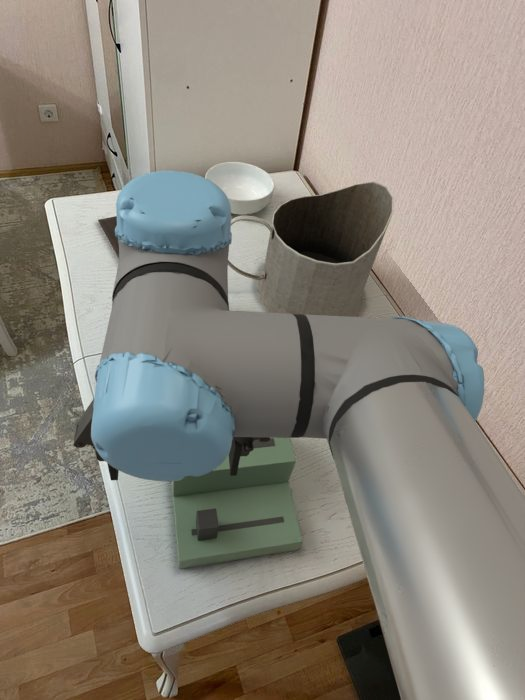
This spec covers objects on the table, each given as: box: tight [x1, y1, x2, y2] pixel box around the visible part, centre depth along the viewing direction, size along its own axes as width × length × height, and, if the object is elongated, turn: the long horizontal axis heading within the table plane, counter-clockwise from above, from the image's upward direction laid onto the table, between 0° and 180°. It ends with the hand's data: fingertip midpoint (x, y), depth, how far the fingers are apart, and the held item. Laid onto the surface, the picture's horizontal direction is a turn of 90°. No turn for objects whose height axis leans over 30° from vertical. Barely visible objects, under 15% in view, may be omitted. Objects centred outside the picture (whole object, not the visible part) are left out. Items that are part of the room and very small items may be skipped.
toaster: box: [170, 438, 304, 570], centre depth 72 cm, size 19×17×11 cm
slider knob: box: [196, 508, 219, 541], centre depth 67 cm, size 3×3×4 cm
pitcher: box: [228, 181, 394, 317], centre depth 98 cm, size 23×32×25 cm
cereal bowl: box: [204, 161, 275, 216], centre depth 124 cm, size 17×17×7 cm
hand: (175, 467), depth 59 cm, fingers open, 13 cm apart
